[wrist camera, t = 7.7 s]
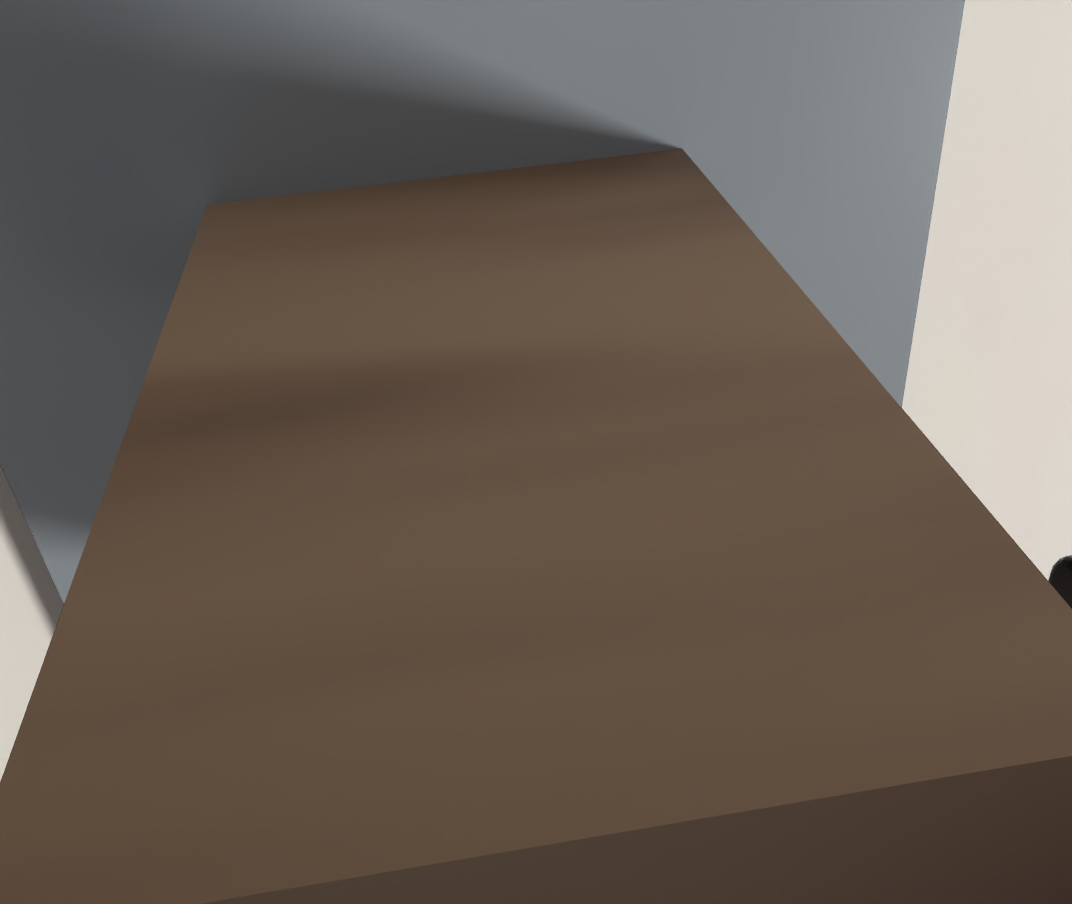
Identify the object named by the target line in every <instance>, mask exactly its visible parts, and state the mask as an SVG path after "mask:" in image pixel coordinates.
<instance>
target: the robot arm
mask: <svg viewBox="0 0 1072 904" xmlns="http://www.w3.org/2000/svg"><path fill="white" fill-rule="evenodd" d="M1048 582H1049V583H1050V584H1051V585H1052V586H1053V587H1054V589H1055V590H1056V591H1057V592H1058V593H1059V595H1060V596H1061V597H1062V598H1063V599H1064V600H1065V602H1066V603H1067V604H1068V605H1069V606H1070V608H1071V609H1072V555H1070V556H1065V557H1063V558H1061V559H1059V560H1058V561H1057V562H1056V564H1055V565H1054V566H1053V568H1052V570H1051V573H1050V577H1049V580H1048Z"/></svg>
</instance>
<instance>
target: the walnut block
mask: <svg viewBox="0 0 1072 904" xmlns="http://www.w3.org/2000/svg"><path fill="white" fill-rule="evenodd" d="M0 904H1072V609H1071V608H1070V606H1069V605H1068V604H1067V603H1066V602H1065V600H1064V599H1063V598H1062V597H1061V596H1060V595H1059V593H1058V592H1057V591H1056V590H1055V589H1054V587H1053V586H1052V585H1051V584H1050V583H1049V582H1048V580H1047V579H1046V578H1045V577H1044V576H1043V574H1042V573H1041V572H1040V571H1039V570H1038V569H1037V567H1036V566H1035V565H1034V564H1033V563H1032V561H1031V560H1030V559H1029V558H1028V557H1027V556H1026V554H1025V553H1024V552H1023V551H1022V550H1021V548H1020V547H1019V546H1018V545H1017V544H1016V543H1015V541H1014V540H1013V539H1012V538H1011V537H1010V535H1009V534H1008V533H1007V532H1006V531H1005V530H1004V528H1003V527H1002V526H1001V525H1000V524H999V522H998V521H997V520H996V519H995V518H994V517H993V515H992V514H991V513H990V512H989V511H988V509H987V508H986V507H985V506H984V505H983V504H982V502H981V501H980V500H979V499H978V498H977V496H976V495H975V494H974V493H973V492H972V490H971V489H970V488H969V487H968V486H967V485H966V483H965V482H964V481H963V480H962V479H961V477H960V476H959V475H958V474H957V473H956V472H955V470H954V469H953V468H952V467H951V466H950V464H949V463H948V462H947V461H946V460H945V459H944V457H943V456H942V455H941V454H940V453H939V451H938V450H937V449H936V448H935V447H934V446H933V444H932V443H931V442H930V441H929V440H928V438H927V437H926V436H925V435H924V434H923V433H922V431H921V430H920V429H919V428H918V427H917V425H916V424H915V423H914V422H913V421H912V420H911V418H910V417H909V416H908V415H907V414H906V412H905V411H904V410H903V409H902V408H901V407H900V405H899V404H898V403H897V402H896V401H895V399H894V398H893V397H892V396H891V395H890V394H889V392H888V391H887V390H886V389H885V388H884V386H883V385H882V384H881V383H880V382H879V381H878V379H877V378H876V377H875V376H874V375H873V373H872V372H871V371H870V370H869V369H868V368H867V366H866V365H865V364H864V363H863V362H862V360H861V359H860V358H859V357H858V356H857V355H856V353H855V352H854V351H853V350H852V349H851V347H850V346H849V345H848V344H847V343H846V342H845V340H844V339H843V338H842V337H841V336H840V334H839V333H838V332H837V331H836V330H835V329H834V327H833V326H832V325H831V324H830V323H829V321H828V320H827V319H826V318H825V317H824V316H823V314H822V313H821V312H820V311H819V310H818V308H817V307H816V306H815V305H814V304H813V303H812V301H811V300H810V299H809V298H808V297H807V295H806V294H805V293H804V292H803V291H802V290H801V288H800V287H799V286H798V285H797V284H796V282H795V281H794V280H793V279H792V278H791V277H790V275H789V274H788V273H787V272H786V271H785V269H784V268H783V267H782V266H781V265H780V264H779V262H778V261H777V260H776V259H775V258H774V256H773V255H772V254H771V253H770V252H769V251H768V249H767V248H766V247H765V246H764V245H763V243H762V242H761V241H760V240H759V239H758V238H757V236H756V235H755V234H754V233H753V232H752V230H751V229H750V228H749V227H748V226H747V225H746V223H745V222H744V221H743V220H742V219H741V217H740V216H739V215H738V214H737V213H736V212H735V210H734V209H733V208H732V207H731V206H730V204H729V203H728V202H727V201H726V200H725V199H724V197H723V196H722V195H721V194H720V193H719V191H718V190H717V189H716V188H715V187H714V186H713V184H712V183H711V182H710V181H709V180H708V178H707V177H706V176H705V175H704V174H703V172H702V171H701V170H700V169H699V168H698V167H697V165H696V164H695V163H694V162H693V161H692V159H691V158H690V157H689V156H688V155H687V154H686V152H685V151H684V150H683V149H675V150H667V151H658V152H650V153H641V154H633V155H624V156H616V157H607V158H599V159H590V160H582V161H573V162H565V163H556V164H548V165H539V166H531V167H522V168H514V169H505V170H497V171H488V172H480V173H471V174H463V175H454V176H446V177H437V178H429V179H420V180H411V181H403V182H394V183H386V184H377V185H369V186H360V187H352V188H343V189H335V190H326V191H318V192H309V193H301V194H292V195H284V196H275V197H267V198H258V199H250V200H241V201H233V202H224V203H216V204H207V206H206V208H205V211H204V214H203V217H202V220H201V222H200V225H199V228H198V231H197V234H196V236H195V239H194V242H193V245H192V248H191V250H190V253H189V256H188V259H187V262H186V264H185V267H184V270H183V273H182V276H181V278H180V281H179V284H178V287H177V290H176V292H175V295H174V298H173V301H172V304H171V306H170V309H169V312H168V315H167V318H166V320H165V323H164V326H163V329H162V332H161V334H160V337H159V340H158V343H157V346H156V348H155V351H154V354H153V357H152V360H151V362H150V365H149V368H148V371H147V374H146V376H145V379H144V382H143V385H142V388H141V390H140V393H139V396H138V399H137V401H136V404H135V407H134V410H133V413H132V415H131V418H130V421H129V424H128V427H127V429H126V432H125V435H124V438H123V441H122V443H121V446H120V449H119V452H118V455H117V457H116V460H115V463H114V466H113V469H112V471H111V474H110V477H109V480H108V483H107V485H106V488H105V491H104V494H103V497H102V499H101V502H100V505H99V508H98V511H97V513H96V516H95V519H94V522H93V525H92V527H91V530H90V533H89V536H88V539H87V541H86V544H85V547H84V550H83V553H82V555H81V558H80V561H79V564H78V567H77V569H76V572H75V575H74V578H73V581H72V583H71V586H70V589H69V592H68V595H67V597H66V600H65V603H64V606H63V608H62V611H61V614H60V617H59V620H58V622H57V625H56V628H55V631H54V634H53V636H52V639H51V642H50V645H49V648H48V650H47V653H46V656H45V659H44V662H43V664H42V667H41V670H40V673H39V676H38V678H37V681H36V684H35V687H34V690H33V692H32V695H31V698H30V701H29V704H28V706H27V709H26V712H25V715H24V718H23V720H22V723H21V726H20V729H19V732H18V734H17V737H16V740H15V743H14V746H13V748H12V751H11V754H10V757H9V760H8V762H7V765H6V768H5V771H4V774H3V776H2V779H1V782H0Z"/></svg>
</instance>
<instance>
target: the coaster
mask: <svg viewBox="0 0 1072 904" xmlns="http://www.w3.org/2000/svg"><path fill="white" fill-rule="evenodd" d="M964 2H965V0H0V465H1V467H2V470H3V472H4V474H5V476H6V478H7V481H8V483H9V485H10V487H11V489H12V492H13V494H14V496H15V498H16V500H17V503H18V505H19V507H20V509H21V511H22V514H23V516H24V518H25V520H26V522H27V525H28V527H29V529H30V531H31V533H32V536H33V538H34V540H35V542H36V544H37V547H38V549H39V551H40V553H41V555H42V558H43V560H44V562H45V564H46V566H47V569H48V571H49V573H50V575H51V577H52V580H53V582H54V584H55V586H56V588H57V591H58V593H59V595H60V597H61V599H62V602H63V604H64V603H65V600H66V597H67V595H68V592H69V589H70V586H71V583H72V581H73V578H74V575H75V572H76V569H77V567H78V564H79V561H80V558H81V555H82V553H83V550H84V547H85V544H86V541H87V539H88V536H89V533H90V530H91V527H92V525H93V522H94V519H95V516H96V513H97V511H98V508H99V505H100V502H101V499H102V497H103V494H104V491H105V488H106V485H107V483H108V480H109V477H110V474H111V471H112V469H113V466H114V463H115V460H116V457H117V455H118V452H119V449H120V446H121V443H122V441H123V438H124V435H125V432H126V429H127V427H128V424H129V421H130V418H131V415H132V413H133V410H134V407H135V404H136V401H137V399H138V396H139V393H140V390H141V388H142V385H143V382H144V379H145V376H146V374H147V371H148V368H149V365H150V362H151V360H152V357H153V354H154V351H155V348H156V346H157V343H158V340H159V337H160V334H161V332H162V329H163V326H164V323H165V320H166V318H167V315H168V312H169V309H170V306H171V304H172V301H173V298H174V295H175V292H176V290H177V287H178V284H179V281H180V278H181V276H182V273H183V270H184V267H185V264H186V262H187V259H188V256H189V253H190V250H191V248H192V245H193V242H194V239H195V236H196V234H197V231H198V228H199V225H200V222H201V220H202V217H203V214H204V211H205V208H206V206H207V204H216V203H224V202H233V201H241V200H250V199H258V198H267V197H275V196H284V195H292V194H301V193H309V192H318V191H326V190H335V189H343V188H352V187H360V186H369V185H377V184H386V183H394V182H403V181H411V180H420V179H429V178H437V177H446V176H454V175H463V174H471V173H480V172H488V171H497V170H505V169H514V168H522V167H531V166H539V165H548V164H556V163H565V162H573V161H582V160H590V159H599V158H607V157H616V156H624V155H633V154H641V153H650V152H658V151H667V150H675V149H683V150H684V151H685V152H686V154H687V155H688V156H689V157H690V158H691V159H692V161H693V162H694V163H695V164H696V165H697V167H698V168H699V169H700V170H701V171H702V172H703V174H704V175H705V176H706V177H707V178H708V180H709V181H710V182H711V183H712V184H713V186H714V187H715V188H716V189H717V190H718V191H719V193H720V194H721V195H722V196H723V197H724V199H725V200H726V201H727V202H728V203H729V204H730V206H731V207H732V208H733V209H734V210H735V212H736V213H737V214H738V215H739V216H740V217H741V219H742V220H743V221H744V222H745V223H746V225H747V226H748V227H749V228H750V229H751V230H752V232H753V233H754V234H755V235H756V236H757V238H758V239H759V240H760V241H761V242H762V243H763V245H764V246H765V247H766V248H767V249H768V251H769V252H770V253H771V254H772V255H773V256H774V258H775V259H776V260H777V261H778V262H779V264H780V265H781V266H782V267H783V268H784V269H785V271H786V272H787V273H788V274H789V275H790V277H791V278H792V279H793V280H794V281H795V282H796V284H797V285H798V286H799V287H800V288H801V290H802V291H803V292H804V293H805V294H806V295H807V297H808V298H809V299H810V300H811V301H812V303H813V304H814V305H815V306H816V307H817V308H818V310H819V311H820V312H821V313H822V314H823V316H824V317H825V318H826V319H827V320H828V321H829V323H830V324H831V325H832V326H833V327H834V329H835V330H836V331H837V332H838V333H839V334H840V336H841V337H842V338H843V339H844V340H845V342H846V343H847V344H848V345H849V346H850V347H851V349H852V350H853V351H854V352H855V353H856V355H857V356H858V357H859V358H860V359H861V360H862V362H863V363H864V364H865V365H866V366H867V368H868V369H869V370H870V371H871V372H872V373H873V375H874V376H875V377H876V378H877V379H878V381H879V382H880V383H881V384H882V385H883V386H884V388H885V389H886V390H887V391H888V392H889V394H890V395H891V396H892V397H893V398H894V399H895V401H896V402H897V403H898V404H899V405H900V407H901V408H902V402H903V395H904V389H905V382H906V376H907V370H908V363H909V357H910V350H911V344H912V337H913V331H914V324H915V318H916V312H917V305H918V299H919V292H920V286H921V279H922V273H923V266H924V260H925V254H926V247H927V241H928V234H929V228H930V221H931V215H932V209H933V202H934V196H935V189H936V183H937V176H938V170H939V163H940V157H941V151H942V144H943V138H944V131H945V125H946V118H947V112H948V106H949V99H950V93H951V86H952V80H953V73H954V67H955V60H956V54H957V48H958V41H959V35H960V28H961V22H962V15H963V9H964Z"/></svg>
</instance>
